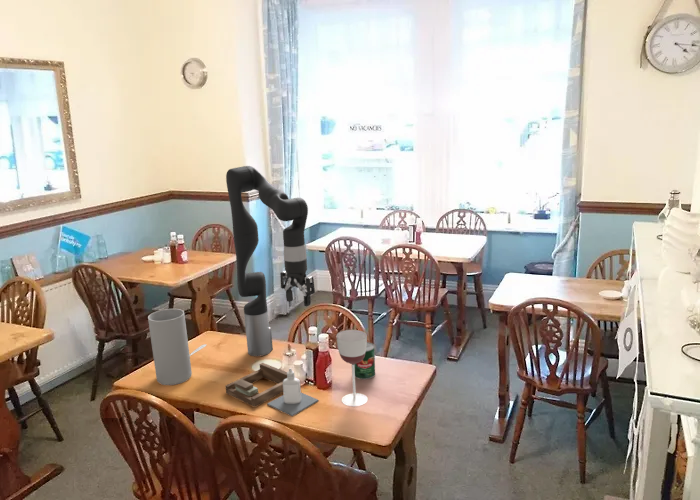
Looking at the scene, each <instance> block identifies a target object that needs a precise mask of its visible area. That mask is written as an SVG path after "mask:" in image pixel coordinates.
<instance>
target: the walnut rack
mask: <svg viewBox="0 0 700 500" xmlns="http://www.w3.org/2000/svg"><path fill="white" fill-rule="evenodd" d="M287 372H288V371H285V370H282V369H280V368H277V367H275V366H272V365H269V364H267V363H264V362H261V363H259V369H258V370H255V371H253V372H251V373H249V374H246V375H244V376H243V377H240V378H239V379H236V380H235V381H231V382H230V383H228V384H225V386H224V387H225V388H224V389H225V394H226V395H228V396H231V397H233V398H235V399H236V400H238V401H241V402H243V403H245V404H247V405H249V406H251V407H253V408H256V407H258V406H260V405H262V404H264V403H266V402H267V401H269V400H271V399H273V398H275V397H277V396H279V395H281V394H283V380H284V379H286V378H287ZM261 379H265V380H268V381H270V382H273V383H275V385H273V386H271V387H269V388H267V389H265V390H264V391H261V392H260V393H259V392H258V393H259V394H257V395H255V396H253V397H249V396H247V395H244V394H242V393H240V392H238V391H236V390H234V389H235V388H236V387H235V382H237V381H240V380H244V381H247V382H249V383H251V384H254V383H256V382H258V381H259V380H261Z"/></svg>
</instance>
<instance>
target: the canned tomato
mask: <svg viewBox="0 0 700 500" xmlns="http://www.w3.org/2000/svg"><path fill="white" fill-rule="evenodd" d="M375 354H376V353H375V344H374V343H373V342H369V341H367V346H366V353H365V357H364V359H363V360H362V361H361V362H359V363H356V364H354V368H355V379H359V380H369V379H372V378H374V377H375V375H376V358H375V357H376V356H375Z"/></svg>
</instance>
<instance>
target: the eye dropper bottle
mask: <svg viewBox="0 0 700 500" xmlns="http://www.w3.org/2000/svg"><path fill="white" fill-rule="evenodd" d="M286 372H287V378H286V379H284V380H283V392H282V394H283V395H284V402H285V403H287V404H296V403H300V402H301V393H302V390H301V381H300V379H299V378H297V377H296V376H295V371H294V370H293V369H292V367H290V368H288V371H286Z"/></svg>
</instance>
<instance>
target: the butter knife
mask: <svg viewBox="0 0 700 500" xmlns="http://www.w3.org/2000/svg"><path fill="white" fill-rule="evenodd" d="M205 347H207V343H206V344H202V345H200V346H198V347H197V348H196V349H194V350H193V351H192V352H191V353H189V355H190V357H191V356H192V355H194V354H195V353H197V352H199V351H200V350H203V349H204V348H205Z"/></svg>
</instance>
